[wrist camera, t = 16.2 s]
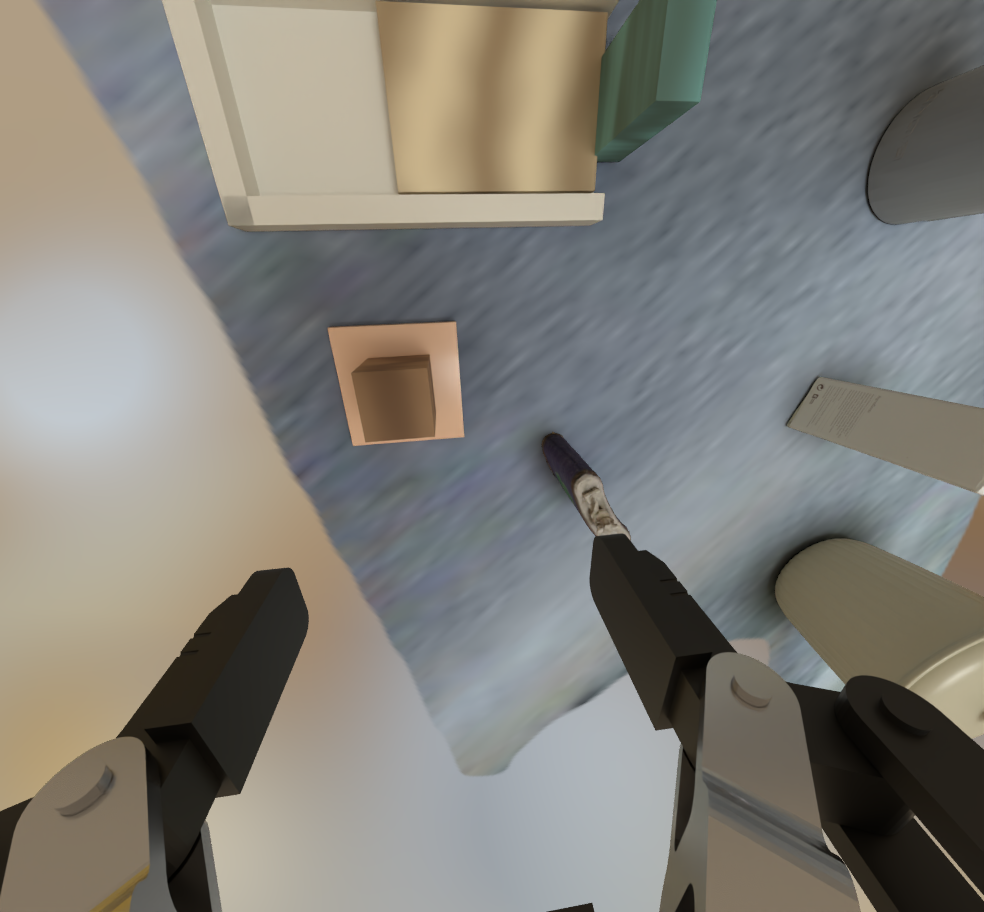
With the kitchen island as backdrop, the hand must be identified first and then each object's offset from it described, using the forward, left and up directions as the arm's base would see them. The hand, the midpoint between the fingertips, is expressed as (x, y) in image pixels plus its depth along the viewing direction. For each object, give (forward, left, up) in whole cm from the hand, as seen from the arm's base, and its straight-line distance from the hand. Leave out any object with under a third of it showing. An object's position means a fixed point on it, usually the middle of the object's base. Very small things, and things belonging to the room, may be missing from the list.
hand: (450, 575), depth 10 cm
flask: (-15, +5, -25) cm, 29 cm away
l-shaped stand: (0, -19, -24) cm, 30 cm away
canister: (-56, +11, -25) cm, 62 cm away
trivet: (+3, +1, -24) cm, 25 cm away
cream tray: (+6, -17, -24) cm, 30 cm away
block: (+3, +1, -23) cm, 23 cm away
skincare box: (-41, -9, -25) cm, 48 cm away
